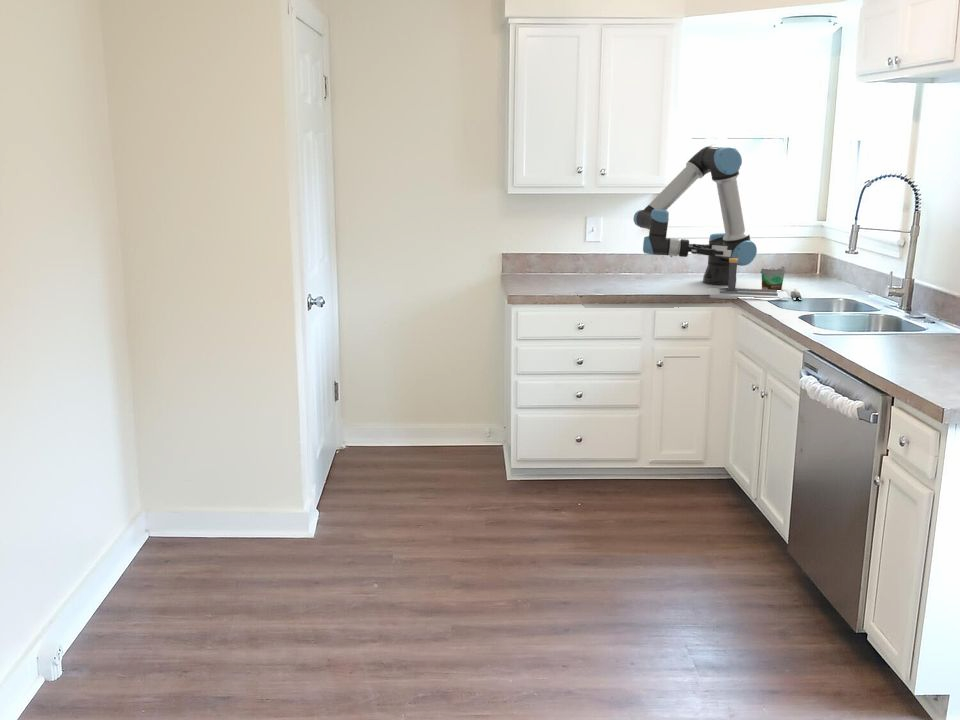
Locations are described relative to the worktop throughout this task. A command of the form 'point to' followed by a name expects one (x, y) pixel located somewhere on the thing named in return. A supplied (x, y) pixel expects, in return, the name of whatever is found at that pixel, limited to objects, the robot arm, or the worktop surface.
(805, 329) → the worktop surface
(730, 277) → the lever
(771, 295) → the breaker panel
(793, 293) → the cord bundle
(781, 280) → the food container
